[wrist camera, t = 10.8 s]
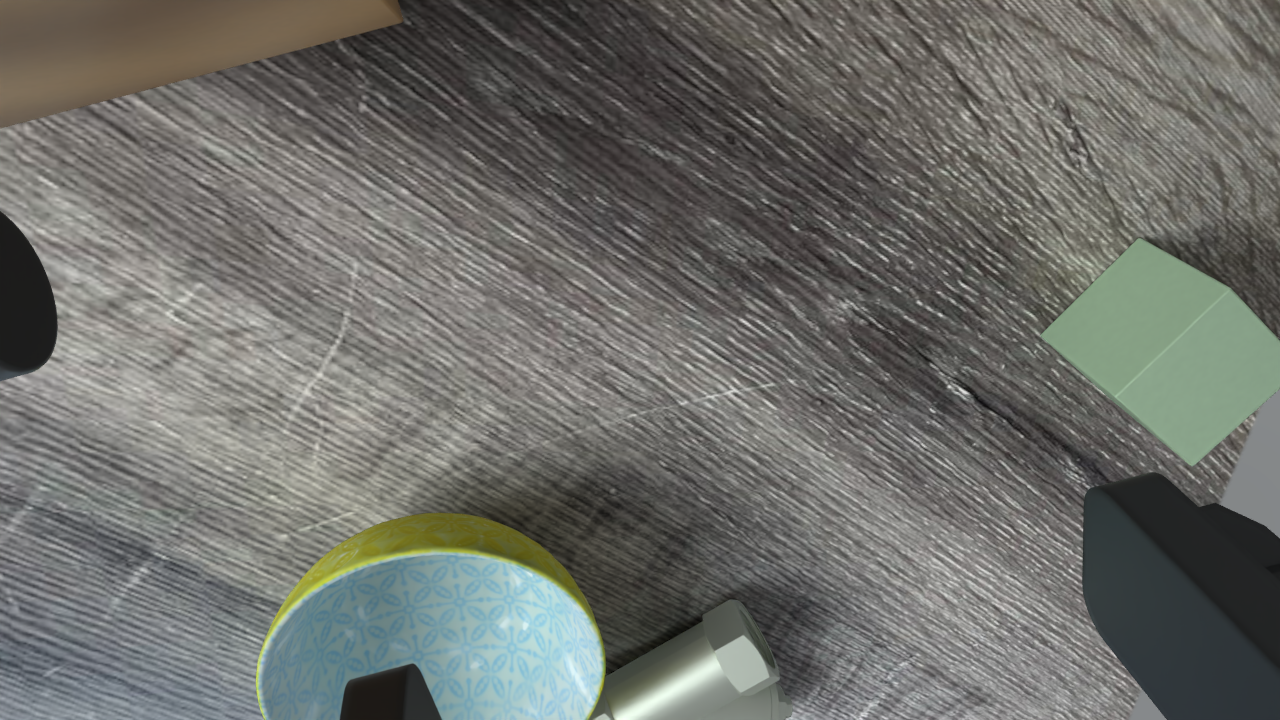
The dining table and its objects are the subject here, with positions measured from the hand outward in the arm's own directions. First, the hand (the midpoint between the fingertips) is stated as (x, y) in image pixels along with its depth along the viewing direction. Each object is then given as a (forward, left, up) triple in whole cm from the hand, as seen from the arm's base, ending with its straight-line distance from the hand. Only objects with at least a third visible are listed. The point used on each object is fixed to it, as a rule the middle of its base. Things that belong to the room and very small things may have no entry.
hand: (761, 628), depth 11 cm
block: (-8, +21, -23) cm, 32 cm away
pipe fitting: (+15, +18, -23) cm, 33 cm away
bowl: (+16, +6, -23) cm, 29 cm away
